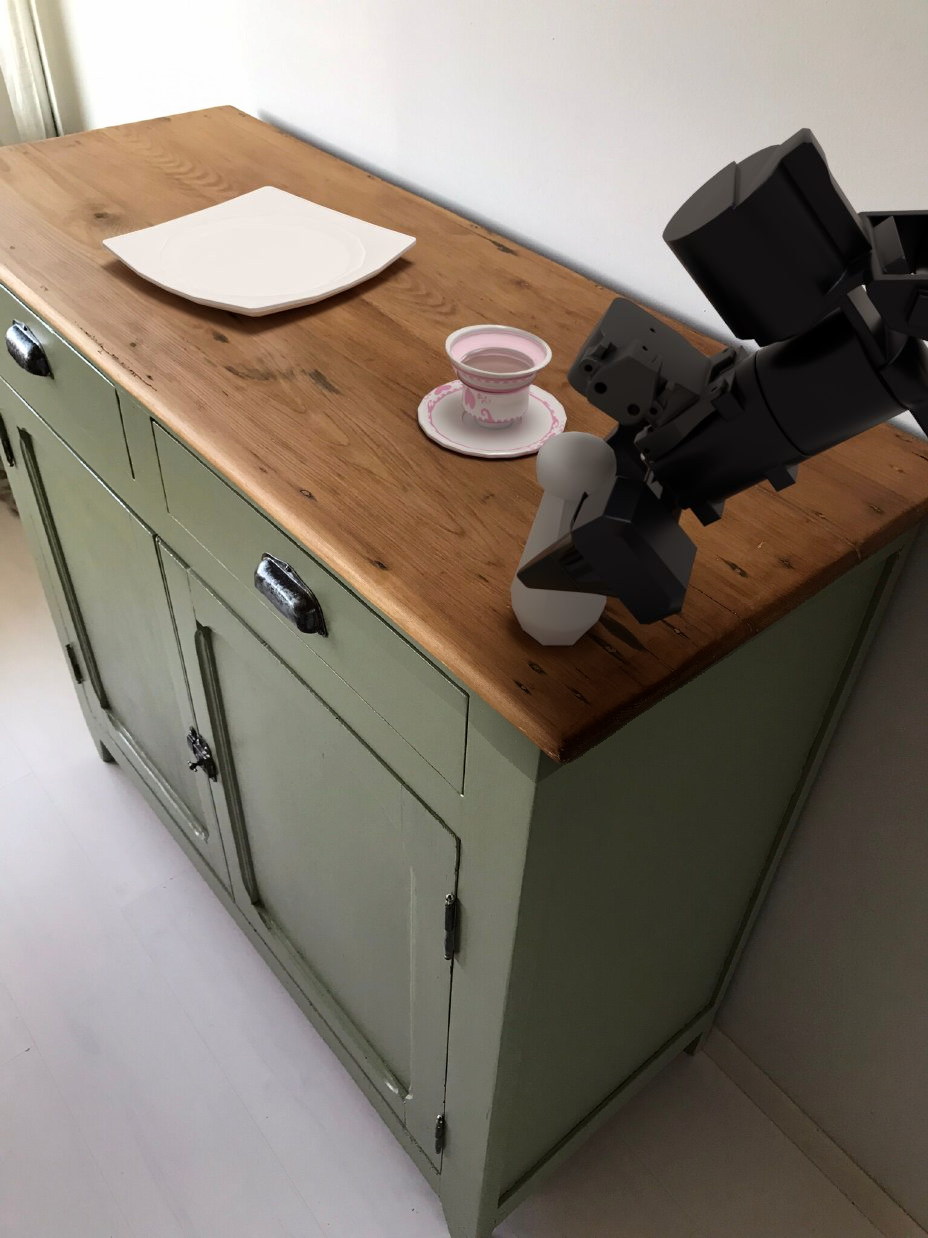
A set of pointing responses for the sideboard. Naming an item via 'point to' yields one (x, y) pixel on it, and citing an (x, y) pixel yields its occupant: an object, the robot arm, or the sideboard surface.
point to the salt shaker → (564, 477)
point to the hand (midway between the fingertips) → (542, 534)
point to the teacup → (493, 395)
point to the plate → (260, 253)
